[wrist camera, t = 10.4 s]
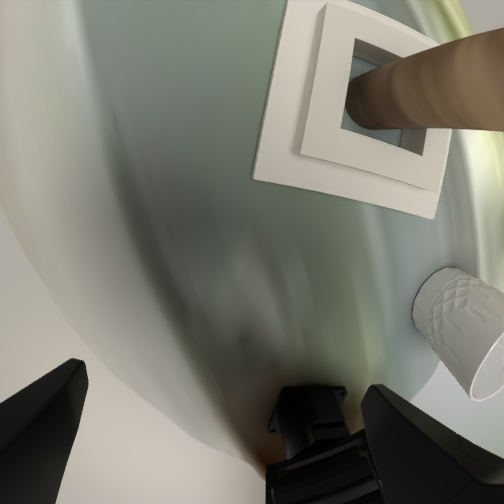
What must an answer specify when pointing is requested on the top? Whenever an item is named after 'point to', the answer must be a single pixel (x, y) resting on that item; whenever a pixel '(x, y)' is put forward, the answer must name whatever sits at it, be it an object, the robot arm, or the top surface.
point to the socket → (331, 112)
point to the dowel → (435, 88)
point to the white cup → (464, 329)
